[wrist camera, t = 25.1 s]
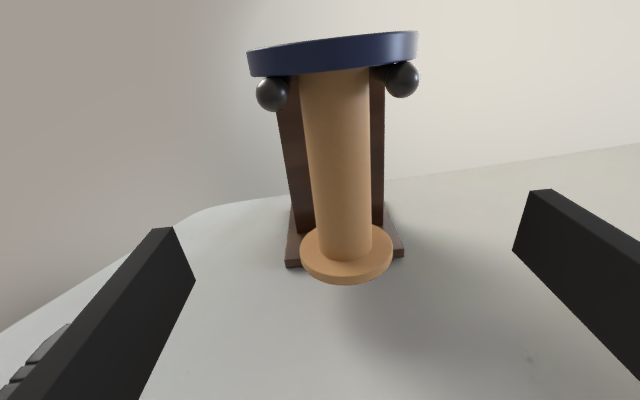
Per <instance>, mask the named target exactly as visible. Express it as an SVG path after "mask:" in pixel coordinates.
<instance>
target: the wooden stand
mask: <svg viewBox="0 0 640 400" xmlns="http://www.w3.org/2000/svg"><path fill="white" fill-rule="evenodd" d="M419 83H420V73H419V70H418V68H417V67H416V66H415V65H414V64H412V63H411V62H407V61H404V62H398V63H396V64H394V63H392V64H385V65H378V66H371V67H369V113H370V165H371V217H372V224H373V225H375V226H377V227H379V228H381V229H382V230H384V231H385V232H386V233H387V234H388V236H389V237H390V239H391V241H392V244H393V257H392V258H397V257H404V247H403V245H402V243H401V241H400V239H399V236H398V234H397V232H396V230H395V227H394V225H393V223H392V221H391V219H390V216H389V214H388V212H387V210H386V208H385V205H384V133H385V131H384V130H385V129H384V128H385V124H384V123H385V87H386V89H387V91H388V92H389V93H390V94H391V95H392V96H394V97H397V98H405V97H408V96H410V95H411V94H413V93H414V92H415V91H416V89H417V88H418V86H419ZM256 98H257V101H258V103H259V104H260V105H261V106H262V108H264V109H265V110H267V111H270V112H276V115H277V121H278V127H279V132H280V138H281V144H282V149H283V156H284V161H285V167H286V173H287V179H288V184H289V190H290V196H291V202H292V203H291V211H290V219H289V227H288V235H287V243H286V251H285V259H284V261H285V266H286V268H292V267H302V266H303V265H302V263H301V258H300V245H301V242H302V240H303V239H304V237H305V236H306V235H307V234H308V233H309V232H310V231H312V230H313V229H315V228H317V227H316V219H315V212H314V204H313V196H312V188H311V180H310V172H309V165H308V157H307V149H306V141H305V133H304V125H303V117H302V110H301V102H300V94H299V86H298V78H297V75H286V76H272V77H266V78H264V79H262V80H261V81H260V82H259V84H258V86H257V88H256Z"/></svg>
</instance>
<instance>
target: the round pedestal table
mask: <svg viewBox="0 0 640 400" xmlns="http://www.w3.org/2000/svg"><path fill="white" fill-rule="evenodd" d="M418 36H419V33H418V31H397V32H385V33H384V32H383V33H373V34H363V35H354V36H344V37H336V38H328V39H319V40H312V41H303V42H296V43H288V44H282V45H275V46H268V47H263V48H257V49H252V50H249V51H247V52H246V54H247V59H248V64H249V69H250V74H251V76H253V77H272V76H286V75H297V78H298V86H299V94H300V102H301V110H302V117H303V125H304V133H305V141H306V149H307V157H308V165H309V172H310V180H311V188H312V196H313V204H314V212H315V219H316V227H317V228H315V229H313V230H312V231H310V232H309V233H308V234H307V235H306V236H305V237H304V239H303V240H302V242H301V245H300V258H301V263H302V265H303V267H304V269H305V270H306V271H307V272H308V273H309V274H310V275H311V276H313V277H314V278H316V279H318V280H320V281H322V282H325V283H329V284H334V285H356V284H361V283H365V282H368V281H370V280H373V279H375V278H377V277H378V276H380V275H381V274H382V273H383V272H385V271H386V269H387V268H388V267H389V265H390V263H391V261H392V257H393V244H392V241H391V239H390V237H389V236H388V234H387V233H386V232H385V231H384V230H382V229H381V228H379V227H377V226H375V225H373V224H372V217H371V165H370V113H369V67H371V66H378V65H385V64H392V63H398V62H404V61H409V60H413V59H416V58H417V54H418Z"/></svg>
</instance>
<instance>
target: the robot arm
mask: <svg viewBox="0 0 640 400" xmlns="http://www.w3.org/2000/svg"><path fill="white" fill-rule="evenodd" d="M512 251H513V252H514V253H515V254H516V255H517V256H518V257H519V258H520V259H521V260H522V261H523V262H524V263H525V264H526V265H527V266H528V268H529V269H530V270H531V271H532V272H533V273H534V274H535V275H536V276H537V277H538V278H539V279H540V280H541V281H542V282H543V283H544V284H545V285H546V286H547V287H548V288H549V289H550V290H551V291H552V292H553V293H554V294H555V295H556V296H557V297H558V298H559V299H560V300H561V301H562V302H563V303H564V304H565V305H566V306H567V307H568V308H569V310H570V311H571V312H572V313H573V314H574V315H575V316H576V317H577V318H578V319H579V320H580V321H581V322H582V323H583V324H584V325H585V326H586V327H587V328H588V329H589V330H590V331H591V332H592V333H593V334H594V335H595V336H596V337H597V338H598V339H599V340H600V341H601V342H602V343H603V344H604V345H605V346H606V347H607V348H608V349H609V350H610V351H611V353H612V354H613V355H614V356H615V357H616V358H617V359H618V360H619V361H620V362H621V363H622V364H623V365H624V366H625V367H626V368H627V369H628V370H629V371H630V372H631V373H632V374H633V375H634V376H635V377H636V378H637V379H638V380H639V381H640V242H639V241H637V240H636V239H634V238H632V237H631V236H629V235H627V234H626V233H624V232H622V231H621V230H619V229H617V228H616V227H614V226H612V225H611V224H609V223H607V222H606V221H604V220H602V219H601V218H599V217H597V216H596V215H594V214H592V213H591V212H589V211H587V210H586V209H584V208H583V207H581V206H579V205H578V204H576V203H574V202H573V201H571V200H569V199H568V198H566V197H564V196H563V195H561V194H559V193H558V192H556V191H554V190H553V189H543V190H533V191H530V192H529V195H528V198H527V202H526V205H525V208H524V212H523V215H522V218H521V221H520V225H519V228H518V231H517V235H516V238H515V241H514V245H513V248H512ZM195 282H196V279H195V277H194V275H193V272H192V270H191V268H190V266H189V263H188V261H187V259H186V256H185V254H184V252H183V249H182V247H181V245H180V242H179V240H178V238H177V236H176V233H175V231H174V229H173V227H165V228H155V229H152V230H151V231H150V232H149V234H148V235H147V236H146V237H145V238H144V239H143V240H142V242H141V243H140V244H139V245H138V246H137V247H136V249H135V250H134V251H133V252H132V253H131V254H130V256H129V257H128V258H127V259H126V260H125V261H124V263H123V264H122V265H121V266H120V267H119V268H118V270H117V271H116V272H115V273H114V274H113V275H112V277H111V278H110V279H109V280H108V281H107V282H106V284H105V285H104V286H103V287H102V288H101V289H100V291H99V292H98V293H97V294H96V295H95V296H94V298H93V299H92V300H91V301H90V302H89V303H88V305H87V306H86V307H85V308H84V309H83V310H82V312H81V313H80V314H79V315H78V316H77V317H76V319H75V320H74V321H73V322H72V323H71V324H66V325H64V326H63V327H62V328H61V329H59V330H58V331H57V332H55V333H54V334H53V335H52V336H50V337H49V338H48V339H47V340H45V341H44V342H43V343H42V344H41V345H40V346H39V348H38V349H37V350H36V351H35V352H34V353H33V354H32V355H31V357H30V358H29V359H28V360H27V361H26V362H25V363H26V364H25V366H23V367H21V368H20V369H19V370H18V371H17V372H16V373H15V374H14V375H13V377H12V378H11V379H10V380H9V381H10V382H9V384H8V385H5V386H4V387H3V388H2V389H1V390H0V400H139V397H140V395H141V393H142V391H143V389H144V387H145V385H146V383H147V381H148V379H149V377H150V375H151V373H152V371H153V369H154V366H155V364H156V362H157V360H158V358H159V356H160V354H161V352H162V350H163V348H164V346H165V344H166V342H167V340H168V338H169V335H170V333H171V331H172V329H173V327H174V325H175V323H176V321H177V319H178V317H179V315H180V313H181V311H182V309H183V307H184V304H185V302H186V300H187V298H188V296H189V294H190V292H191V290H192V288H193V286H194V284H195Z"/></svg>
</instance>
